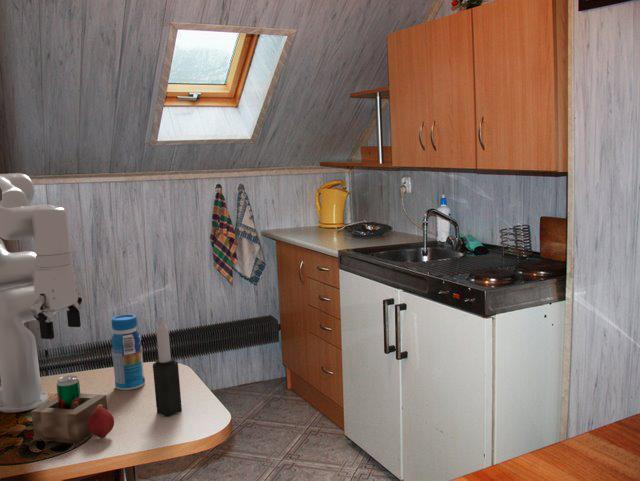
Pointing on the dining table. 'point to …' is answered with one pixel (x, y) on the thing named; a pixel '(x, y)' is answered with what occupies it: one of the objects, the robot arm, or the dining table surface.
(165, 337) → the black handled stick
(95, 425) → the onion
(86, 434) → the well block
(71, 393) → the soda can
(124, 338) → the beverage bottle
